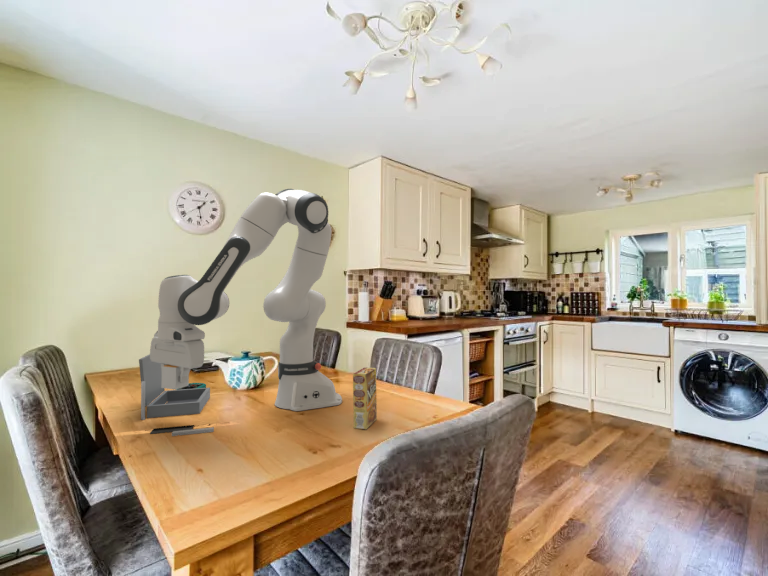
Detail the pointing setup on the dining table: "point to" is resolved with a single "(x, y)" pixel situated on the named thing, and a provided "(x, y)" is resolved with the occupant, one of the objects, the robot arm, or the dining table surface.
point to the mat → (171, 429)
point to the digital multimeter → (193, 386)
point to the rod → (192, 431)
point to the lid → (151, 378)
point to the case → (175, 402)
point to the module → (172, 377)
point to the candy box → (364, 398)
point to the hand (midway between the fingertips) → (175, 380)
